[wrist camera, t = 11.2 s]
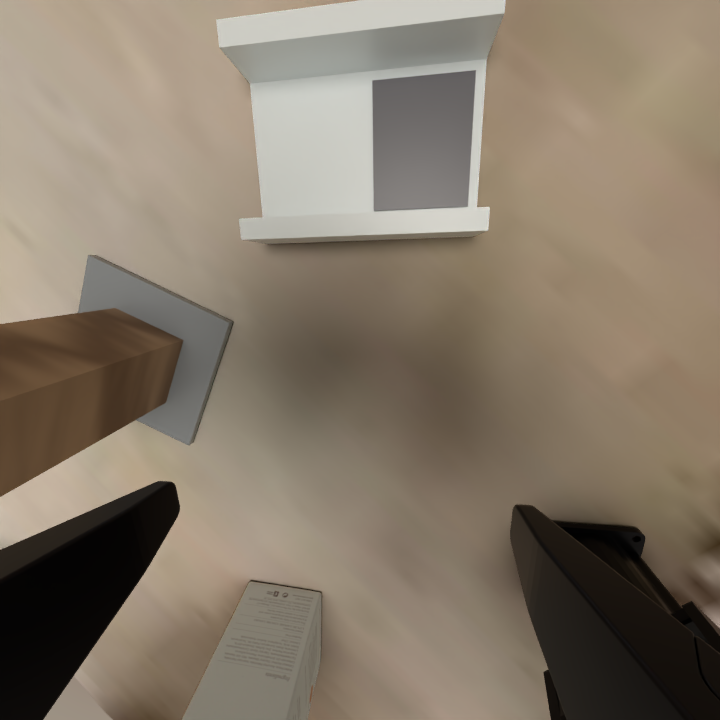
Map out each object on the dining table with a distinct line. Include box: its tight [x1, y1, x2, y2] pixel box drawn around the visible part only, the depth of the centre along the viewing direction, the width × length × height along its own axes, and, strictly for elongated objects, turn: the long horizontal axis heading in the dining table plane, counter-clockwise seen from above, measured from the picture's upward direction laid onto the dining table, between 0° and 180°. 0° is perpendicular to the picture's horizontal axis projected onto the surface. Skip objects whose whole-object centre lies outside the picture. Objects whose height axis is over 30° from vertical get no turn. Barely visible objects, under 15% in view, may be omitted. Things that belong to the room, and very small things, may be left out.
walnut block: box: [0, 308, 183, 497], centre depth 17 cm, size 5×5×12 cm
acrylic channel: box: [216, 0, 506, 244], centre depth 16 cm, size 12×9×3 cm
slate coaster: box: [78, 255, 233, 445], centre depth 23 cm, size 10×10×1 cm
